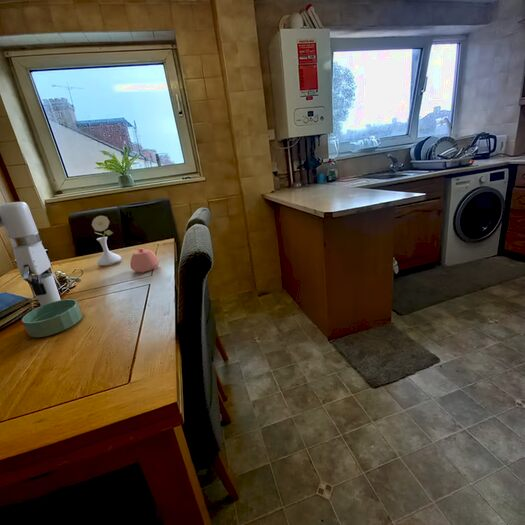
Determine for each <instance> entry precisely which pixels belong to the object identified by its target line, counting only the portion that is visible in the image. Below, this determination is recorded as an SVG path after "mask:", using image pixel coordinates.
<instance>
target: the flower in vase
mask: <svg viewBox="0 0 525 525" xmlns="http://www.w3.org/2000/svg"><path fill="white" fill-rule="evenodd" d="M110 223H111V222H110V220H109V218H108V216H105V215H98V216H96V217H95V218H93V220H92V221H91V227H92V228H93V230H94V231H96V232H95V234H97V235H101V237H97V238H96V241H98V243H99V244H100V245H101V248H102V254H101V255H100V256H99V258H98V260H97V261H96V265H98V266H104V267H105V266H111V265H114V264H116V263H118V262H121V260H122V257H121V256H120V255H119V254H116V253H114V252H112V251H110V250H109V248H108V244H107V240H108V236H111V235H112V234H114V232H113V231H111V230H110V229H108V228H109V225H110ZM99 232H103V234H102V233H99ZM105 235H107V236H105Z"/></svg>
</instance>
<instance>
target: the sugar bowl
mask: <svg viewBox="0 0 525 525" xmlns="http://www.w3.org/2000/svg"><path fill="white" fill-rule="evenodd" d="M129 262H130V269H131V270H132V271H133V272H135V273H140V274H144V273H146V272H149V271H152V270H156V268H157V267H158V266H159V265H160V260H159V258H158V256H157V255H156V253H154V252H153V251H152V250H151V249H149V248H144V247H139V248H138V249H137V250H136V251H134V252H133V253H132V255H131V258H130V261H129Z"/></svg>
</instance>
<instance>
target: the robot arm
mask: <svg viewBox="0 0 525 525" xmlns="http://www.w3.org/2000/svg"><path fill="white" fill-rule="evenodd" d="M2 227H4V229H5V232H6V235H7V237H8V239H9V242H10V243H11V246H12V248H13V255H14V259H15V262H16V265H17V269H18V272H19V274H20V277H22V278H23V281H25V282H27V283H28V284H29V286H31V288H32V290H33V292H34V295H35V296H36V297H37V296H38V295H44V294H46V293H47V292H46V289H45V287H44V284H43V283H41V279H40V275H41V274H46V273H52V271H51V270H52V268H51V266H52V264H51V261H50V258H49V256H48V253H47V252H46V250H45V247H44V245H43V241H42V239H41V236H40V233H39V231H38V228H37V225H36V223H35V221H34V217H33V215H32V213H31V210H30V207H29V205H28V204H27V203H26V202H24V201H13V202H4V203H0V228H2ZM33 277H36V278H37V280H36V279H34V278H33ZM45 277H46V276H45Z"/></svg>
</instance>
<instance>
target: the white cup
mask: <svg viewBox="0 0 525 525" xmlns="http://www.w3.org/2000/svg"><path fill="white" fill-rule="evenodd" d="M45 276H46V277H45ZM33 278H34V279H36V280H37V278H36V277H33ZM40 279H41V283H43V284H44V287H45V289H46V292H47V293H46V294H44V295H38V296H36V299H37V300H38V302H39V304H40V306H43V305H45V304H48V303H51V302H55V301H59V300H62V299H61V297H60V294H59V290H58V287H57V284H56V281H55V277H54V274H53V272H51V273H46V274H40Z"/></svg>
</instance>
